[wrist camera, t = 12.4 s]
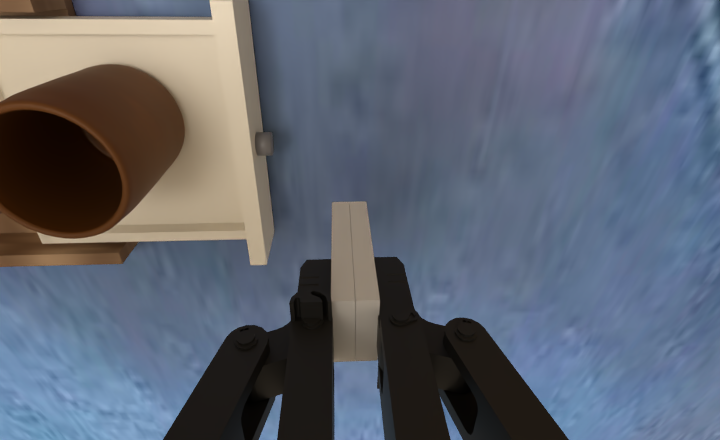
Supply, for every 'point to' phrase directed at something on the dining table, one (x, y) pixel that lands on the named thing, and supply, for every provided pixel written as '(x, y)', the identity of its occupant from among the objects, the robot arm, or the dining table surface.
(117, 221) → the mug
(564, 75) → the dining table surface
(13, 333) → the dining table surface
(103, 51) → the drawer
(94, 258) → the frame
